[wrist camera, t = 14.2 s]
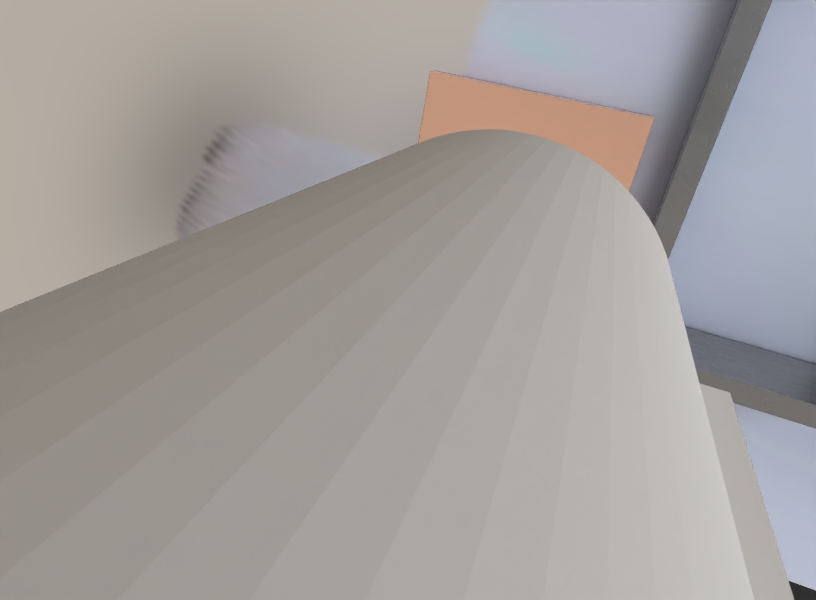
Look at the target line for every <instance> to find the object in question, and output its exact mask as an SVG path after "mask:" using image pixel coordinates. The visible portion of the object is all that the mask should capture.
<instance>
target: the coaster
mask: <svg viewBox="0 0 816 600" xmlns="http://www.w3.org/2000/svg"><path fill="white" fill-rule="evenodd" d="M653 121H654V116H649V115H645V114H640V113H635V112H630V111H626V110H621V109H616V108H611V107H607V106H602V105H597V104H592V103H588V102H583V101H578V100H573V99H569V98H564V97H559V96H554V95H550V94H545V93H540V92H535V91H531V90H526V89H521V88H516V87H512V86H507V85H502V84H497V83H492V82H488V81H483V80H478V79H473V78H469V77H464V76H459V75H454V74H450V73H445V72H440V71H430V76H429V82H428V88H427V94H426V100H425V106H424V111H423V118H422V123H421V129H420V136H419V141H418V143H421V142H423V141H426V140H428V139H431V138H435V137H438V136H441V135H445V134H450V133H454V132H460V131H467V130H481V129H495V130H509V131H517V132H522V133H527V134H532V135H536V136H539V137H543V138H546V139H549V140H552V141H554V142H557V143H560V144H562V145H564V146H567V147H569V148H571V149H573V150H575V151H577V152H579V153H581V154H582V155H584V156H586V157H587V158H589V159H591V160H592V161H594V162H595V163H597V164H598V165H599V166H601V167H602V168H604V169H605V170H606V171H607V172H609V173H610V174H611V175H612V176H613V177H615V178H616V179H617V180H618V181H619V182H620V183H621V184H622V185H623V186H624V187H625V188H626V189H627V190H628V191H629V190H630V187H631V184H632V181H633V179H634V176H635V173H636V170H637V167H638V164H639V161H640V158H641V156H642V153H643V150H644V147H645V144H646V141H647V138H648V135H649V133H650V130H651V127H652V124H653Z"/></svg>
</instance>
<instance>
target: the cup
mask: <svg viewBox="0 0 816 600" xmlns="http://www.w3.org/2000/svg"><path fill="white" fill-rule="evenodd" d="M0 600H754V597H753V593H752V589H751V585H750V581H749V577H748V573H747V569H746V566H745V562H744V558H743V554H742V550H741V546H740V542H739V538H738V534H737V530H736V526H735V522H734V518H733V514H732V510H731V506H730V502H729V498H728V495H727V491H726V487H725V483H724V479H723V475H722V471H721V467H720V463H719V459H718V455H717V451H716V447H715V443H714V439H713V435H712V431H711V427H710V423H709V420H708V416H707V412H706V408H705V404H704V400H703V396H702V392H701V388H700V384H699V380H698V376H697V372H696V368H695V364H694V360H693V356H692V352H691V349H690V345H689V341H688V337H687V333H686V329H685V325H684V321H683V317H682V313H681V309H680V305H679V301H678V297H677V293H676V289H675V285H674V281H673V277H672V274H671V270H670V266H669V262H668V259H667V255H666V253H665V250H664V247H663V245H662V242H661V240H660V238H659V236H658V233H657V231H656V229H655V227H654V226H653V224H652V222H651V221H650V219H649V217H648V216H647V214H646V213H645V211H644V210H643V208H642V207H641V206H640V204H639V203H638V202H637V200H636V199H635V198H634V197H633V196H632V195H631V193H630V192H629V191H628V190H627V189H626V188H625V187H624V186H623V185H622V184H621V183H620V182H619V181H618V180H617V179H616V178H615V177H613V176H612V175H611V174H610V173H609V172H607V171H606V170H605V169H604V168H602V167H601V166H599V165H598V164H597V163H595V162H594V161H592V160H591V159H589V158H587V157H586V156H584V155H582V154H581V153H579V152H577V151H575V150H573V149H571V148H569V147H567V146H564V145H562V144H560V143H557V142H554V141H552V140H549V139H546V138H543V137H539V136H536V135H532V134H527V133H522V132H517V131H509V130H495V129H481V130H467V131H460V132H454V133H450V134H445V135H441V136H438V137H435V138H431V139H428V140H426V141H423V142H421V143H418V144H416V145H414V146H411V147H409V148H406V149H404V150H401V151H399V152H396V153H394V154H391V155H389V156H386V157H384V158H381V159H379V160H376V161H374V162H371V163H369V164H366V165H364V166H361V167H359V168H356V169H354V170H351V171H349V172H347V173H344V174H342V175H339V176H337V177H334V178H332V179H329V180H327V181H324V182H322V183H319V184H317V185H314V186H312V187H309V188H307V189H304V190H302V191H299V192H297V193H294V194H292V195H289V196H287V197H284V198H282V199H279V200H277V201H275V202H272V203H270V204H267V205H265V206H262V207H260V208H257V209H255V210H252V211H250V212H247V213H245V214H242V215H240V216H237V217H235V218H232V219H230V220H227V221H225V222H222V223H220V224H217V225H215V226H212V227H210V228H208V229H205V230H203V231H200V232H198V233H195V234H193V235H190V236H188V237H185V238H183V239H180V240H178V241H175V242H173V243H170V244H168V245H165V246H163V247H160V248H158V249H155V250H154V251H150V252H148V253H146V254H143V255H141V256H138V257H136V258H133V259H131V260H128V261H126V262H123V263H121V264H118V265H116V266H114V267H111V268H108V269H106V270H104V271H101V272H99V273H96V274H94V275H91V276H89V277H86V278H83V279H81V280H78V281H77V282H74V283H71V284H69V285H66V286H64V287H61V288H59V289H56V290H54V291H51V292H49V293H46V294H44V295H41V296H39V297H36V298H34V299H32V300H29V301H26V302H24V303H21V304H19V305H17V306H14V307H12V308H9V309H7V310H4V311H2V312H0Z"/></svg>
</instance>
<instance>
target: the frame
mask: <svg viewBox="0 0 816 600" xmlns="http://www.w3.org/2000/svg"><path fill="white" fill-rule="evenodd" d="M771 2H772V0H737V3H736V6H735V8H734V11H733V14H732V16H731V19H730V22H729V24H728V27H727V30H726V32H725V35H724V37H723V40H722V43H721V45H720V48H719V51H718V53H717V56H716V59H715V61H714V64H713V67H712V69H711V72H710V75H709V77H708V80H707V82H706V85H705V88H704V90H703V93H702V96H701V98H700V101H699V104H698V106H697V109H696V112H695V114H694V117H693V120H692V122H691V125H690V127H689V130H688V133H687V135H686V138H685V141H684V143H683V146H682V149H681V151H680V154H679V157H678V159H677V162H676V165H675V167H674V170H673V172H672V175H671V178H670V180H669V183H668V186H667V188H666V191H665V194H664V196H663V199H662V202H661V204H660V207H659V210H658V212H657V215H656V217H655V220H654V223H653V226H654V227H655V229H656V231H657V233H658V236H659V238H660V240H661V242H662V245H663V247H664V250H665V253H666V255H667V259H668V258H669V255H670V253H671V250H672V248H673V245H674V243H675V240H676V238H677V235H678V233H679V230H680V228H681V225H682V223H683V221H684V218H685V216H686V213H687V211H688V208H689V206H690V203H691V201H692V198H693V196H694V193H695V191H696V188H697V186H698V183H699V181H700V178H701V176H702V173H703V171H704V168H705V166H706V163H707V161H708V158H709V156H710V153H711V151H712V148H713V146H714V143H715V141H716V138H717V136H718V133H719V131H720V129H721V126H722V124H723V121H724V119H725V116H726V114H727V111H728V109H729V106H730V104H731V101H732V99H733V96H734V94H735V91H736V89H737V86H738V84H739V81H740V79H741V76H742V74H743V71H744V69H745V66H746V64H747V61H748V59H749V56H750V54H751V51H752V49H753V46H754V44H755V41H756V39H757V37H758V34H759V32H760V29H761V27H762V24H763V22H764V19H765V17H766V14H767V12H768V9H769V7H770V4H771ZM685 329H686V333H687V337H688V341H689V345H690V349H691V352H692V356H693V360H694V364H695V368H696V372H697V376H698V380H699V383H700V384H704V385H707V386H710V387H713V388H717V389H720V390H723V391H727V392H730V394H731V397H732V401H733V403H736V404H740V405H743V406H746V407H749V408H752V409H755V410H759V411H762V412H765V413H768V414H771V415H775V416H778V417H781V418H784V419H787V420H791V421H794V422H797V423H800V424H803V425H807V426H810V427H813V428H816V365H815V364H811V363H808V362H804V361H801V360H798V359H794V358H791V357H787V356H784V355H780V354H777V353H773V352H770V351H767V350H763V349H760V348H756V347H753V346H749V345H746V344H742V343H739V342H735V341H732V340H729V339H725V338H722V337H718V336H715V335H711V334H708V333H704V332H701V331H697V330H694V329H691V328H687V327H685Z"/></svg>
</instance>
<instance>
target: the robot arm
mask: <svg viewBox="0 0 816 600" xmlns="http://www.w3.org/2000/svg"><path fill="white" fill-rule="evenodd" d="M699 384H700V383H699ZM700 388H701V392H702V396H703V400H704V404H705V408H706V412H707V416H708V420H709V423H710V427H711V431H712V435H713V439H714V443H715V447H716V451H717V455H718V459H719V463H720V467H721V471H722V475H723V479H724V483H725V487H726V491H727V495H728V498H729V502H730V506H731V510H732V514H733V518H734V522H735V526H736V530H737V534H738V538H739V542H740V546H741V550H742V554H743V558H744V562H745V566H746V569H747V573H748V577H749V581H750V585H751V589H752V593H753V597H754V600H816V591H815V590H812V589H809V588H807V587H804V586H801V585H798V584H796V583H793V582H790V581H788V578H787V575H786V571H785V568H784V565H783V562H782V558H781V555H780V552H779V549H778V546H777V542H776V539H775V536H774V533H773V529H772V526H771V523H770V520H769V517H768V513H767V510H766V507H765V504H764V500H763V497H762V494H761V491H760V488H759V484H758V481H757V478H756V475H755V472H754V468H753V465H752V462H751V459H750V455H749V452H748V449H747V446H746V443H745V439H744V436H743V433H742V430H741V426H740V423H739V420H738V417H737V414H736V410H735V407H734V404H733V401H732V397H731V394H730V392H727V391H723V390H720V389H717V388H713V387H710V386H707V385H704V384H700Z"/></svg>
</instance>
